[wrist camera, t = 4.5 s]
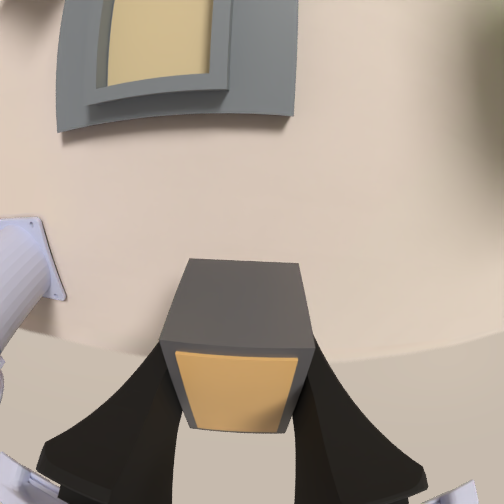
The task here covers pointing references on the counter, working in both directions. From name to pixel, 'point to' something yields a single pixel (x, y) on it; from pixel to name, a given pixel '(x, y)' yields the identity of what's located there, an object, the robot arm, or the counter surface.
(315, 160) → the counter surface
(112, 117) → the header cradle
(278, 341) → the plug housing
